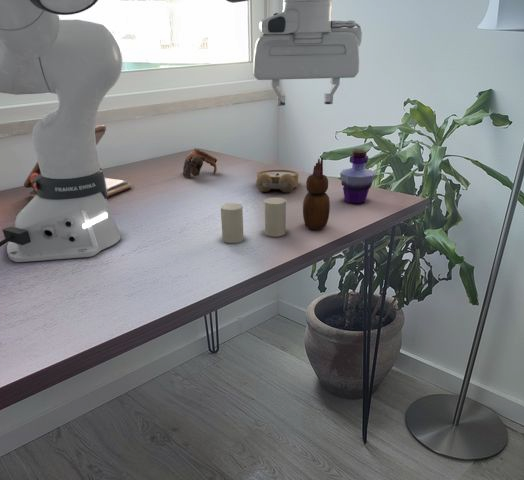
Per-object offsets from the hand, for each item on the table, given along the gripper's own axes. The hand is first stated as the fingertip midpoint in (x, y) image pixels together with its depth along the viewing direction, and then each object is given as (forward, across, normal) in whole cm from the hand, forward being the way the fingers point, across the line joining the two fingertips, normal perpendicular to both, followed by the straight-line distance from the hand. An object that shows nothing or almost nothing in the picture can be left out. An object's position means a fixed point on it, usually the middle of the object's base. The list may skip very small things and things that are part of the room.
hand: (304, 104), depth 100 cm
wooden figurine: (+24, -3, +3) cm, 25 cm away
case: (+24, +56, -30) cm, 68 cm away
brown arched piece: (+24, +24, -44) cm, 56 cm away
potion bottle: (+24, -16, -14) cm, 32 cm away
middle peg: (+24, +6, +6) cm, 26 cm away
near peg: (+24, +16, +8) cm, 30 cm away
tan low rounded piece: (+24, +3, -28) cm, 37 cm away
